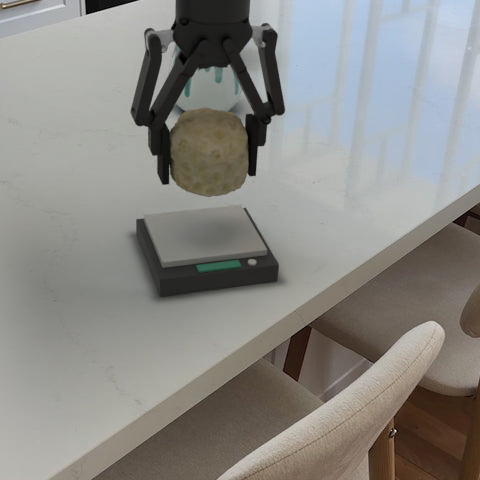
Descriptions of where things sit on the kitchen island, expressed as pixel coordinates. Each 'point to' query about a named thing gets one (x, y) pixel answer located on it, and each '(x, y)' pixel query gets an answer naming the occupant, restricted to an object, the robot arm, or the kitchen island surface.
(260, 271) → the scale
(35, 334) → the kitchen island surface
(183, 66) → the robot arm
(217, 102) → the vase
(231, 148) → the beige textured cylinder
